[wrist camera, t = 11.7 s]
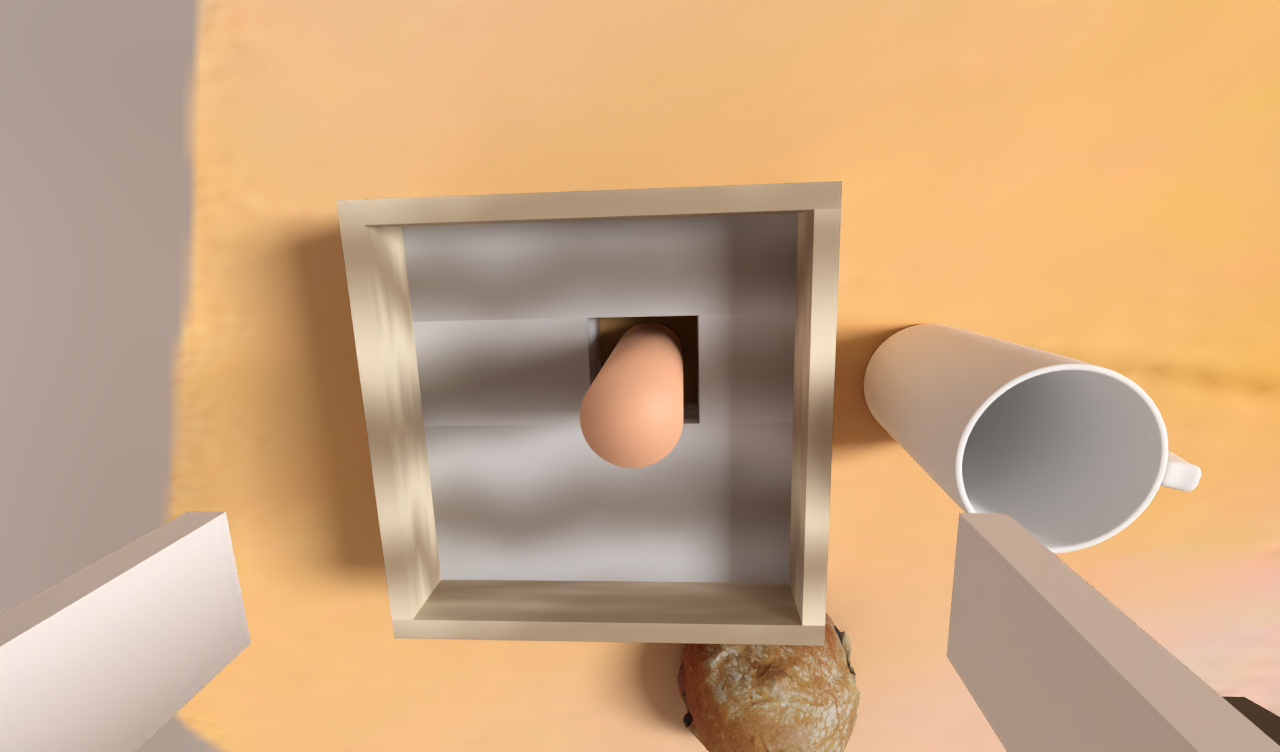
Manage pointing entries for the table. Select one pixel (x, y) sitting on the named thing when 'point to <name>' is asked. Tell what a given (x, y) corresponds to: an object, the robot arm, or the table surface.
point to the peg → (636, 399)
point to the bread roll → (770, 695)
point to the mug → (1024, 432)
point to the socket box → (551, 401)
